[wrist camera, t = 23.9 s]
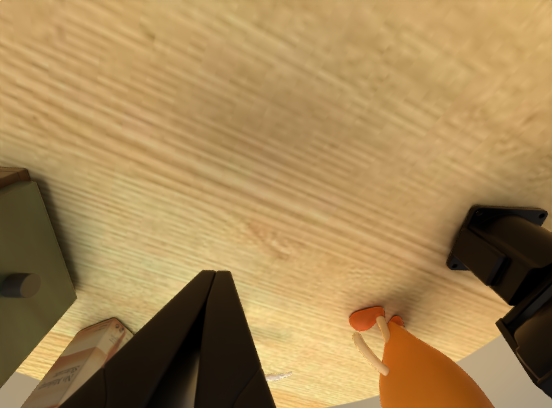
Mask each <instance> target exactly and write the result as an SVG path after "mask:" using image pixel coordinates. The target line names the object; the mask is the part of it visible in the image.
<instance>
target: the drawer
mask: <svg viewBox="0 0 552 408" xmlns="http://www.w3.org/2000/svg"><path fill="white" fill-rule="evenodd" d="M76 299H77V296H76V293H75V290H74V287H73V284H72V281H71V279H70V276H69V273H68V270H67V267H66V264H65V262H64V259H63V256H62V253H61V250H60V247H59V245H58V242H57V239H56V236H55V233H54V230H53V228H52V225H51V222H50V219H49V216H48V213H47V211H46V208H45V205H44V202H43V199H42V196H41V194H40V191H39V188H38V185H37V182H35V181H17V182H15V183H13V184H10V185H8V186H6V187H3V188H1V189H0V388H1V387H2V386H3V385H4V383H5V382H6V381H7V380H8V379H9V377H10V376H11V375H12V374H13V373H14V372H15V371H16V369H17V368H18V367H19V366H20V365H21V364H22V362H23V361H24V360H25V359H26V358H27V357H28V355H29V354H30V353H31V352H32V351H33V350H34V348H35V347H36V346H37V345H38V344H39V343H40V341H41V340H42V339H43V338H44V337H45V335H46V334H47V333H48V332H49V331H50V330H51V328H52V327H53V326H54V325H55V324H56V323H57V321H58V320H59V319H60V318H61V317H62V316H63V314H64V313H65V312H66V311H67V310H68V309H69V307H70V306H71V305H72V304H73V303H74V302H75V300H76Z"/></svg>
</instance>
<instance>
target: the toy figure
mask: <svg viewBox="0 0 552 408" xmlns="http://www.w3.org/2000/svg"><path fill="white" fill-rule="evenodd" d="M376 322H377V324H378V326H379V328H380V331H381V333H382V335H383V338H384V340H385V347H384V354H383V359H382V362H381V361H380V360H379V359H378V358H377V356H376V355H375V354H374V353H373V352H372V351H371V350H370V348H369V347H368V346H367V344H366V343H365V341H364V340H363V338H362V336H361V334H359V333H354V334H353V335H352V339H353V341H354V343H355V345H356V347H357V348H358V350H359V351H360V352H361V354H362V355H363V356H364V358H365V359H366V360H367V361H368V362H369V363H370V364H371V365H372V366H373V367H374V368H375V369H376V370H377V371H379V372H380V379H379V389H380V401H381V406H382V408H494V406H493V405H492V403H491V402H490V400H489V399H488V398H487V397H486V395H485V394H484V392H483V391H482V390H481V388H480V387H479V386H478V385H477V384H476V383H475V381H474V380H473V379H472V378H471V377H470V376H469V375H468V374H467V373H466V372H465V371H464V370H463V369H462V368H461V367H459V366H458V365H457V364H456V363H455V362H453V361H452V360H451V359H450V358H448V357H447V356H446V355H444V354H443V353H441V352H440V351H438V350H436V349H435V348H433V347H431V346H430V345H428V344H426V343H424V342H423V341H421V340H420V339H418V338H416V337H415V336H413V335H412V334H410V333H409V332H408V331H406V330H405V326H404V323H403V320H402V318H401V317H399V316H394V317H393V318H392V319H391V320H390V322H388V324H387V323H386V321H385V311H384V309H383V308H382V307H373V308H369V309H364V310H361V311H358V312H355V313H354V314H352V315H351V316H350V319H349V323H350V325H351V326H352V327H353V328H354V329H355V330H357V331H365V330H368V329H370V328H371V327H372V326H373V325H374V324H375V323H376Z"/></svg>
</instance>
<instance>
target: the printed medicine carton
mask: <svg viewBox="0 0 552 408" xmlns="http://www.w3.org/2000/svg"><path fill="white" fill-rule="evenodd" d="M133 336H134V335H133V334H132V333H131V332H130V331H129V330H128V329H127V328H125V327H124V326H123V325H122V324H121V323H120V322H119V321H118V320H117V319H116V318H112V319H109V320H106V321H103V322H101V323H98V324H96V325H93V326H90V327H88V328H85V329H83V330H81V331H79V332H78V333H77V335H76V336H75V337H74V338H73V340H72V341H71V342H70V344H69V345H68V346H67V347H66V349H65V350H64V351H63V353H62V354H61V355H60V357H59V358H58V359H57V361H56V362H55V363H54V365H53V366H52V367H51V369H50V370H49V371H48V373H47V374H46V375H45V376H44V378H43V379H42V380H41V382H40V383H39V384H38V385H37V387H36V388H35V389H34V391H33V392H32V393H31V395H30V396H29V397H28V399H27V400H26V401H25V403H24V404H23V405H22V407H21V408H58V407H59V406H60V405H61V404H62V403H63V402H64V401H65V400H67V399H68V398H69V397H70V396H71V395H72V394H73V393H74V392H75V391H76V390H77V389H78V388H80V387H81V386H82V385H83V384H84V383H85V382H86V381H87V380H88V379H89V378H90V377H91V376H92V375H93V374H94V373H95V372H96V371H97V370H98V369H100V368H101V367H104V364H105V363H106V362H107V361H108V360H109V359H110V358H111V357H112V356H113V355H114V354H115V353H116V352H117V351H118V350H119V349H121V348H122V347H123V346H124V345H125V344H126V343H127V342H128V341H129V340H130V339H131V338H132V337H133Z"/></svg>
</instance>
